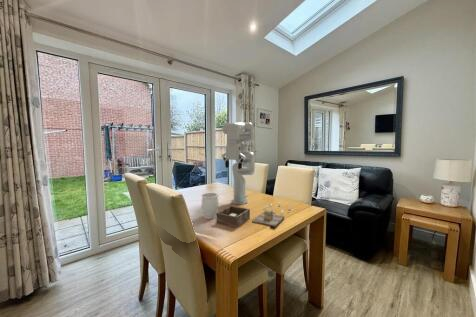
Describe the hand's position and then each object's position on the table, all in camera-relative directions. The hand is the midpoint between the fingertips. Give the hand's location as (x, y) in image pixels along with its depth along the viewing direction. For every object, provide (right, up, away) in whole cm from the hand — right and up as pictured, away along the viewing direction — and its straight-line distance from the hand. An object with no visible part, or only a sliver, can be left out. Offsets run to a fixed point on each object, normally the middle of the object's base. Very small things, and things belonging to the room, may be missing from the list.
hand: (233, 168), depth 141 cm
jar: (-15, -32, -3) cm, 36 cm away
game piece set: (+31, -31, +12) cm, 45 cm away
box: (0, -33, -11) cm, 34 cm away
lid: (+22, -33, -10) cm, 40 cm away
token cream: (0, -31, -8) cm, 32 cm away
